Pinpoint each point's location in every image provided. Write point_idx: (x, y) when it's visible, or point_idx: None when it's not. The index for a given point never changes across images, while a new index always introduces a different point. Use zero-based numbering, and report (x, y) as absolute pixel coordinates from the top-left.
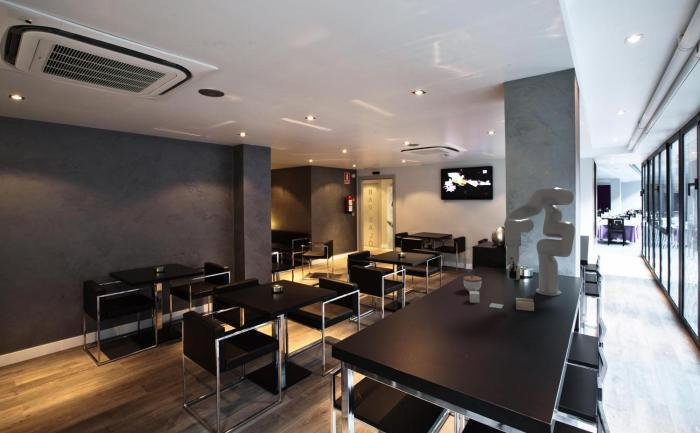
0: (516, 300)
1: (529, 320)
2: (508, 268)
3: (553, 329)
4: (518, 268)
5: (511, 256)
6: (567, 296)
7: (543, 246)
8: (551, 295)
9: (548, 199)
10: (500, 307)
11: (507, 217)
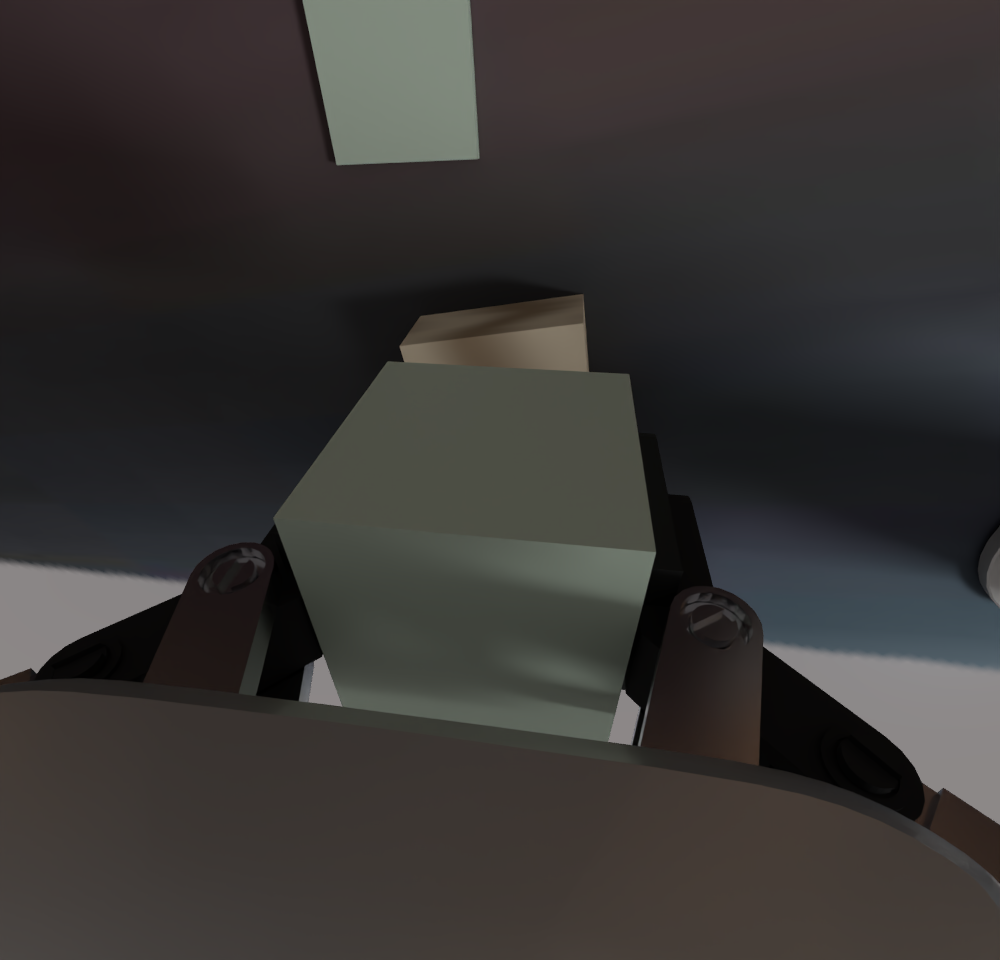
0: (464, 342)
1: (223, 432)
2: (430, 538)
3: (188, 541)
4: (549, 728)
5: None
6: (960, 636)
7: None
8: (980, 558)
9: None
10: (352, 146)
11: None
